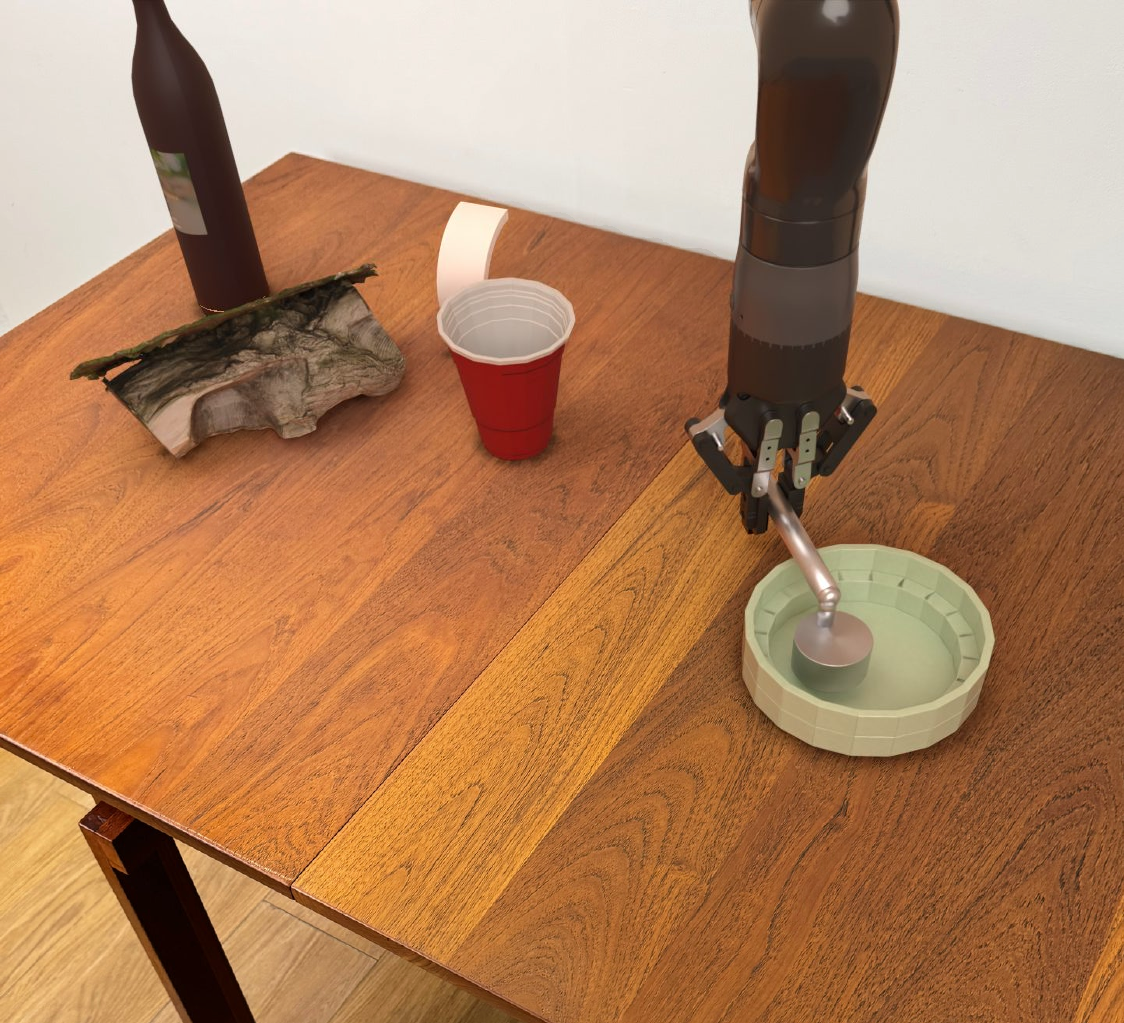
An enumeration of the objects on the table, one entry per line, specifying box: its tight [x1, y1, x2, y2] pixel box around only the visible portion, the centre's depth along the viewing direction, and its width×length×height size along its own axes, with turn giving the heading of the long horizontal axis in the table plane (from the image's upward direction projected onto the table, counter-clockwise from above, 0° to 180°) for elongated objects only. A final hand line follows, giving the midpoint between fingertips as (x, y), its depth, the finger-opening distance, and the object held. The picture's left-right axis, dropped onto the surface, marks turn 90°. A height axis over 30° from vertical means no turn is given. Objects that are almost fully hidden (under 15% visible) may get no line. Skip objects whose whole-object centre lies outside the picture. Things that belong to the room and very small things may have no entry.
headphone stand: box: [436, 201, 509, 310], centre depth 108 cm, size 5×6×12 cm
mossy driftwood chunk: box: [69, 263, 407, 460], centre depth 102 cm, size 28×13×15 cm
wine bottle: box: [130, 0, 270, 316], centre depth 108 cm, size 7×7×30 cm
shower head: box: [740, 471, 873, 692], centre depth 84 cm, size 19×5×6 cm, turn 14°
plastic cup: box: [436, 277, 577, 461], centre depth 98 cm, size 11×11×12 cm
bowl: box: [741, 543, 996, 758], centre depth 82 cm, size 16×16×4 cm
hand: (770, 523), depth 88 cm, fingers closed on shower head
